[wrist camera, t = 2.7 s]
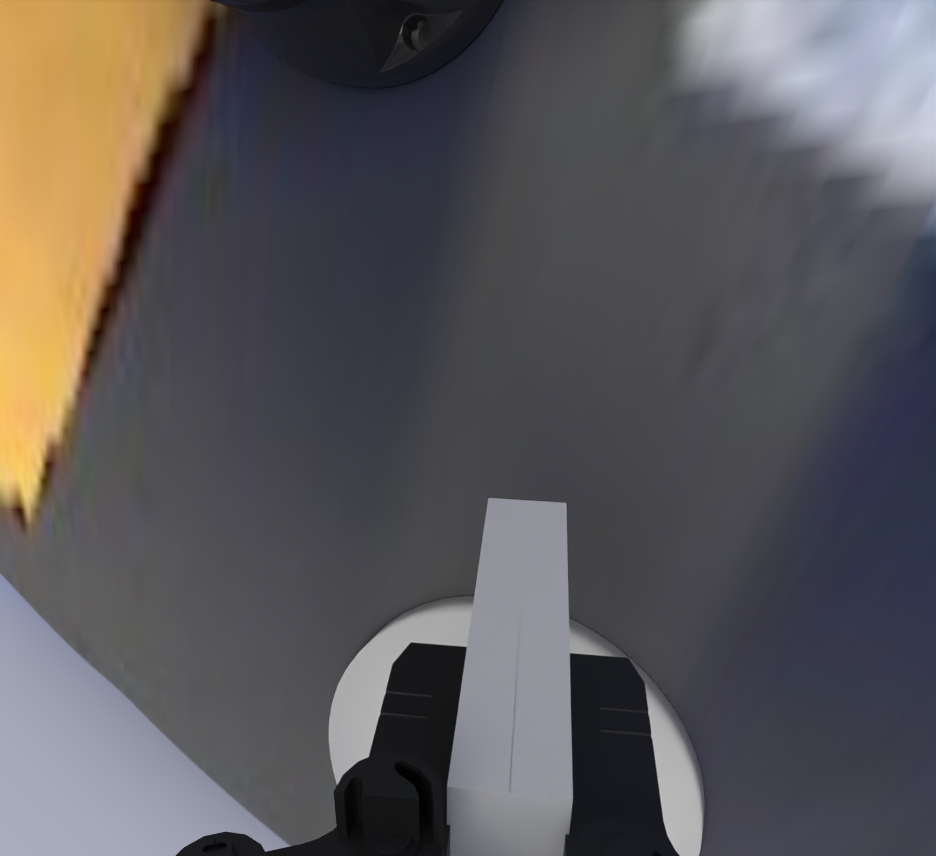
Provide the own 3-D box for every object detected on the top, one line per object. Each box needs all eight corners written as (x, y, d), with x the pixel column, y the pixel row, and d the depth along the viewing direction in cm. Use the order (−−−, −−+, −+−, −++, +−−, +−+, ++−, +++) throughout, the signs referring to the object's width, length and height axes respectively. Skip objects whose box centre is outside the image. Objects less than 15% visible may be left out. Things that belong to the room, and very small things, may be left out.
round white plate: (316, 809, 53) (298, 833, 51) (386, 534, 45) (368, 550, 43) (626, 987, 48) (619, 1022, 46) (771, 709, 39) (769, 736, 38)
